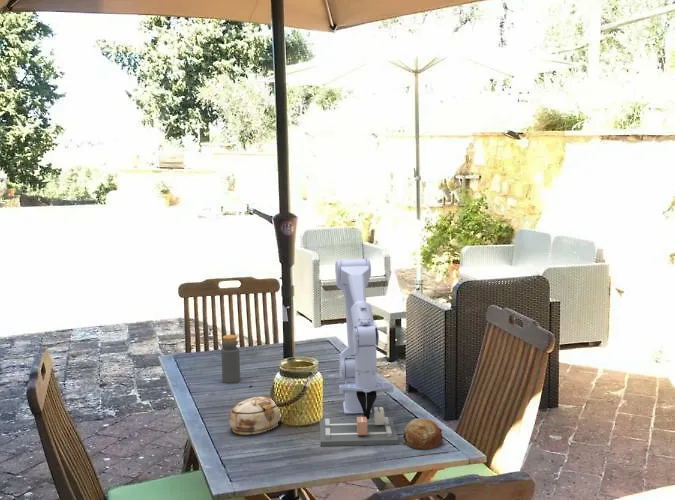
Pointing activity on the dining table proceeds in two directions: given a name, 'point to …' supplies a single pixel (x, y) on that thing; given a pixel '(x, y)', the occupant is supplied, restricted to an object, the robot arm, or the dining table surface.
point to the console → (346, 432)
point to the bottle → (230, 359)
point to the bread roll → (422, 434)
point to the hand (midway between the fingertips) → (366, 417)
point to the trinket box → (254, 416)
